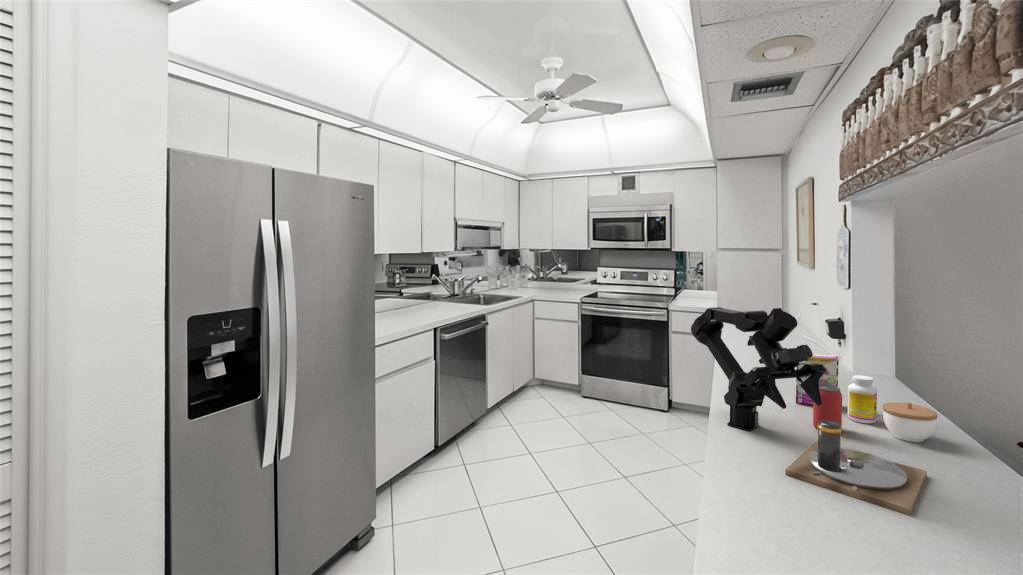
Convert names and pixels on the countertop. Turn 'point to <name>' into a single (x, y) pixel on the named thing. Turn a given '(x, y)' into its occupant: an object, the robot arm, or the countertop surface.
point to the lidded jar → (909, 421)
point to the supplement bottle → (862, 400)
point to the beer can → (828, 405)
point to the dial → (853, 462)
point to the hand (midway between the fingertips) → (802, 406)
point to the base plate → (890, 499)
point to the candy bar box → (828, 378)
